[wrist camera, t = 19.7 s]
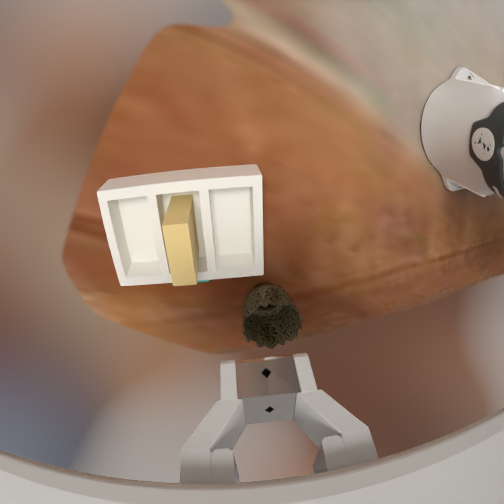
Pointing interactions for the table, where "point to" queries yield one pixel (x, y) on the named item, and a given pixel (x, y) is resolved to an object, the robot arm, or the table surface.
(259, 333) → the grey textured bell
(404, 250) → the table surface
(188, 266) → the panel
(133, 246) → the rack
